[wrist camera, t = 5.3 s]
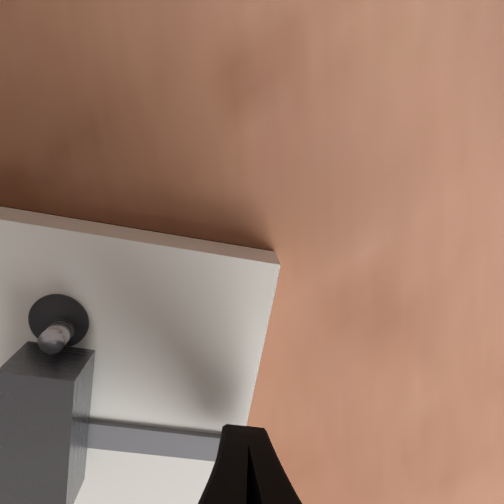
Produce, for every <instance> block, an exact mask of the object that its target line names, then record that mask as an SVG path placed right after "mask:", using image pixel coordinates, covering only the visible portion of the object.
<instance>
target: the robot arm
mask: <svg viewBox="0 0 504 504" xmlns="http://www.w3.org/2000/svg"><path fill="white" fill-rule="evenodd" d="M198 504H302V503H301V501H300V499H299V498H298V496H297V494H296V492H295V490H294V489H293V487H292V485H291V483H290V481H289V479H288V477H287V475H286V473H285V471H284V469H283V467H282V465H281V463H280V461H279V459H278V457H277V455H276V453H275V450H274V448H273V446H272V444H271V441H270V439H269V436H268V434H267V431H266V430H265V429H264V428H258V427H250V426H241V425H232V424H226V425H224V426H222V432H221V437H220V442H219V447H218V452H217V458H216V461H215V463H214V466H213V469H212V472H211V474H210V477H209V480H208V482H207V484H206V486H205V489H204V491H203V493H202V495H201V498H200V500H199V502H198Z"/></svg>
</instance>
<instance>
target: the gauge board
mask: <svg viewBox="0 0 504 504" xmlns="http://www.w3.org/2000/svg"><path fill="white" fill-rule="evenodd" d="M280 266H281V264H280V262H279V259H278V257H277V255H276V252H274V251H268V250H262V249H256V248H250V247H244V246H238V245H232V244H225V243H219V242H213V241H207V240H201V239H195V238H189V237H183V236H177V235H171V234H165V233H159V232H153V231H147V230H141V229H135V228H128V227H122V226H116V225H110V224H104V223H98V222H92V221H86V220H80V219H74V218H68V217H62V216H56V215H50V214H44V213H38V212H32V211H25V210H19V209H13V208H7V207H1V206H0V367H1V366H2V365H3V364H4V363H5V362H6V361H7V360H9V359H10V358H11V357H12V356H13V355H14V354H15V353H16V352H17V351H18V350H19V349H20V348H21V347H22V346H23V345H24V344H25V343H26V342H27V341H31V342H38V337H39V336H40V335H41V334H42V333H43V332H44V331H45V330H46V329H47V328H48V327H49V326H50V325H51V324H52V323H53V322H54V321H55V320H58V319H65V320H68V321H70V322H71V323H72V324H73V326H74V329H75V332H74V335H73V336H72V338H71V339H70V340H69V341H68V342H67V344H66V345H65V346H68V347H76V348H84V349H91V350H95V360H94V372H93V384H92V396H91V408H90V420H89V432H88V444H87V456H86V468H85V479H84V481H83V483H82V486H81V488H80V490H79V493H78V495H77V497H76V499H75V502H74V504H198V502H199V500H200V498H201V495H202V493H203V491H204V489H205V486H206V484H207V482H208V480H209V477H210V474H211V472H212V469H213V466H214V463H215V461H216V458H217V452H218V447H219V442H220V437H221V432H222V426H224V425H226V424H232V425H241V426H246V425H247V420H248V415H249V411H250V406H251V401H252V397H253V392H254V387H255V383H256V378H257V373H258V369H259V364H260V359H261V355H262V350H263V345H264V341H265V336H266V331H267V327H268V322H269V317H270V313H271V308H272V303H273V299H274V294H275V289H276V285H277V280H278V275H279V271H280Z"/></svg>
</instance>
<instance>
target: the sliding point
mask: <svg viewBox="0 0 504 504" xmlns="http://www.w3.org/2000/svg"><path fill="white" fill-rule="evenodd" d="M74 332H75V329H74V326H73V324H72V323H71V322H70V321H68V320H65V319H58V320H55V321H54V322H53V323H52V324H51V325H50V326H49V327H48V328H47V329H46V330H45V331H44V332H43V333H42V334H41V335H40V336H39V337H38V342H31V341H27V342H26V343H25V344H24V345H23V346H22V347H21V348H20V349H19V350H18V351H17V352H16V353H15V354H14V355H13V356H12V357H11V358H10V359H9V360H7V361H6V362H5V363H4V364H3V365H2V366H1V367H0V504H74V502H75V499H76V497H77V495H78V493H79V490H80V488H81V486H82V483H83V481H84V479H85V468H86V456H87V444H88V432H89V420H90V408H91V396H92V384H93V372H94V360H95V350H91V349H84V348H76V347H68V346H65V345H66V344H67V342H68V341H69V340H70V339H71V338H72V336H73V335H74Z"/></svg>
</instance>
